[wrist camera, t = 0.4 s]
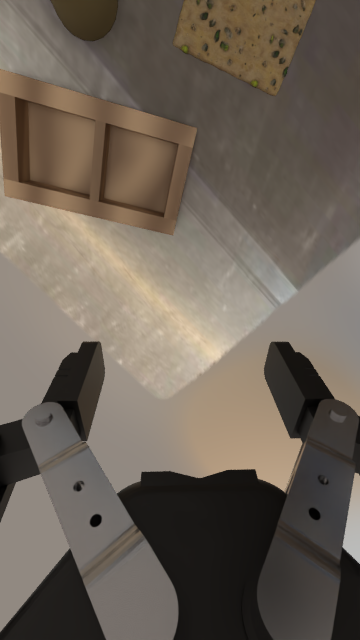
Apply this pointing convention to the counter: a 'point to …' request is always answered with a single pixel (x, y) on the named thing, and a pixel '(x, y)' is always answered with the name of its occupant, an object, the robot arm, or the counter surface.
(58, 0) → the olive game pawn
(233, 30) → the tan speckled flat square
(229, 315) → the counter surface
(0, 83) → the caddy
